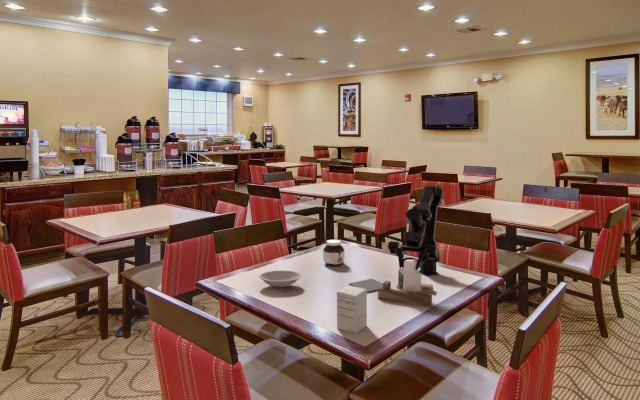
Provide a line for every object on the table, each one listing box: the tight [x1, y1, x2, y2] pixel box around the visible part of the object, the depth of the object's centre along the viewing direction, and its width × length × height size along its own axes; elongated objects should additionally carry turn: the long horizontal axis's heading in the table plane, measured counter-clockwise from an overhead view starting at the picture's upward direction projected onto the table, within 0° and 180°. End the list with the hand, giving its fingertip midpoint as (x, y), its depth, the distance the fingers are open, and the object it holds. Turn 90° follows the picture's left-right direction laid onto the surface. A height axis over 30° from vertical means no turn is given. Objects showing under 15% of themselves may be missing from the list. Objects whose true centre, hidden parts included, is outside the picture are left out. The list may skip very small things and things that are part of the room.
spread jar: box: [322, 239, 345, 267], centre depth 212 cm, size 12×11×12 cm
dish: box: [258, 269, 302, 288], centre depth 178 cm, size 18×14×5 cm
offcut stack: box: [396, 282, 434, 294], centre depth 175 cm, size 4×14×2 cm, turn 63°
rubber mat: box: [348, 278, 384, 294], centre depth 179 cm, size 12×12×1 cm
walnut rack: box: [377, 280, 433, 308], centre depth 162 cm, size 4×20×6 cm, turn 63°
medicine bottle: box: [397, 256, 422, 293], centre depth 166 cm, size 7×7×12 cm
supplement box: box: [336, 284, 368, 334], centre depth 139 cm, size 7×7×13 cm
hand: (408, 268), depth 163 cm, fingers closed on medicine bottle, 6 cm apart
